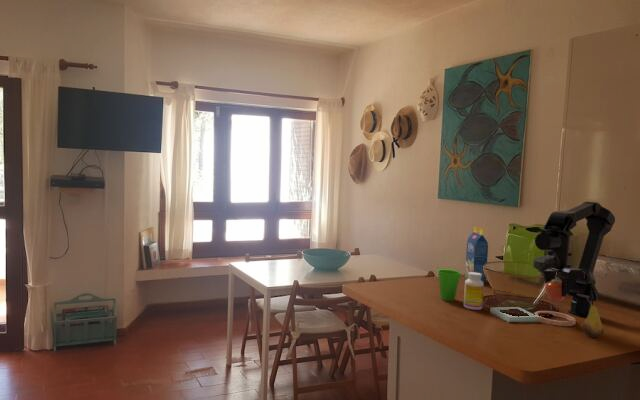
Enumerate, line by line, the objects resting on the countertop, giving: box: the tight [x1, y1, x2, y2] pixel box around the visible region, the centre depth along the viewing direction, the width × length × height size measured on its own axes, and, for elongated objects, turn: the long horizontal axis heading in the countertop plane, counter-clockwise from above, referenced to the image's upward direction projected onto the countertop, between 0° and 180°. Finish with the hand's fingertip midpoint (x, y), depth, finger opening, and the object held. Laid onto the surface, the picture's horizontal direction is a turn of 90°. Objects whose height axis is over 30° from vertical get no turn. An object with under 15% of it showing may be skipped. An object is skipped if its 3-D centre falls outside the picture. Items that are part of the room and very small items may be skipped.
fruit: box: [582, 297, 604, 338], centre depth 150 cm, size 6×6×12 cm
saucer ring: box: [533, 310, 577, 327], centre depth 166 cm, size 13×13×1 cm
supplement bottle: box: [463, 272, 485, 311], centre depth 176 cm, size 7×7×13 cm
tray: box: [489, 306, 540, 323], centre depth 167 cm, size 12×12×2 cm
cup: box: [437, 268, 462, 302], centre depth 187 cm, size 9×9×11 cm
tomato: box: [544, 276, 568, 302], centre depth 165 cm, size 7×7×8 cm
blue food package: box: [464, 226, 489, 284], centre depth 224 cm, size 6×12×25 cm, turn 0°
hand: (556, 293), depth 165 cm, fingers closed on tomato, 7 cm apart
